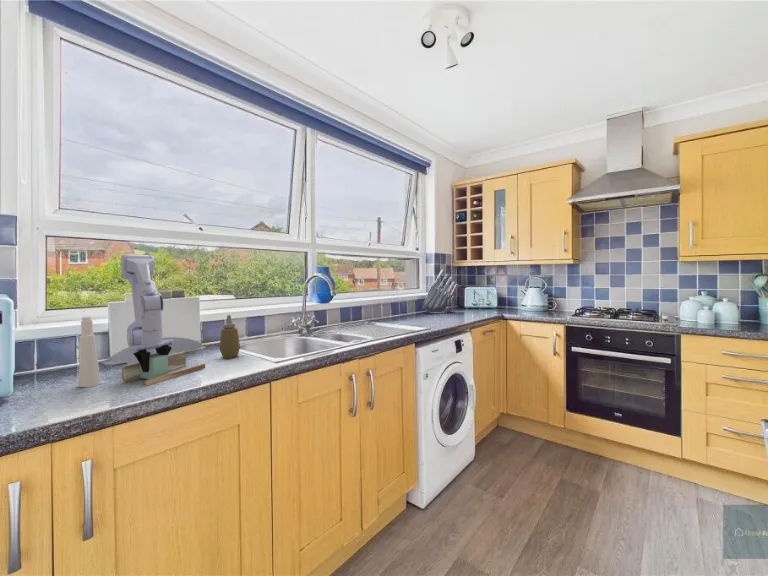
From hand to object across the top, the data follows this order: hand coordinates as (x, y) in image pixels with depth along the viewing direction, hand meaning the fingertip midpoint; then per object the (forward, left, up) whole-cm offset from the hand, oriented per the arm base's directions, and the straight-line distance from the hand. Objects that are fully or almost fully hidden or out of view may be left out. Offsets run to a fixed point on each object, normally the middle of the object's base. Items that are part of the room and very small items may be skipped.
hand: (153, 369), depth 116 cm
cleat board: (+1, +4, -3) cm, 5 cm away
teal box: (0, 0, -2) cm, 2 cm away
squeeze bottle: (+2, +32, -3) cm, 32 cm away
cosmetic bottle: (-13, -12, -3) cm, 18 cm away
